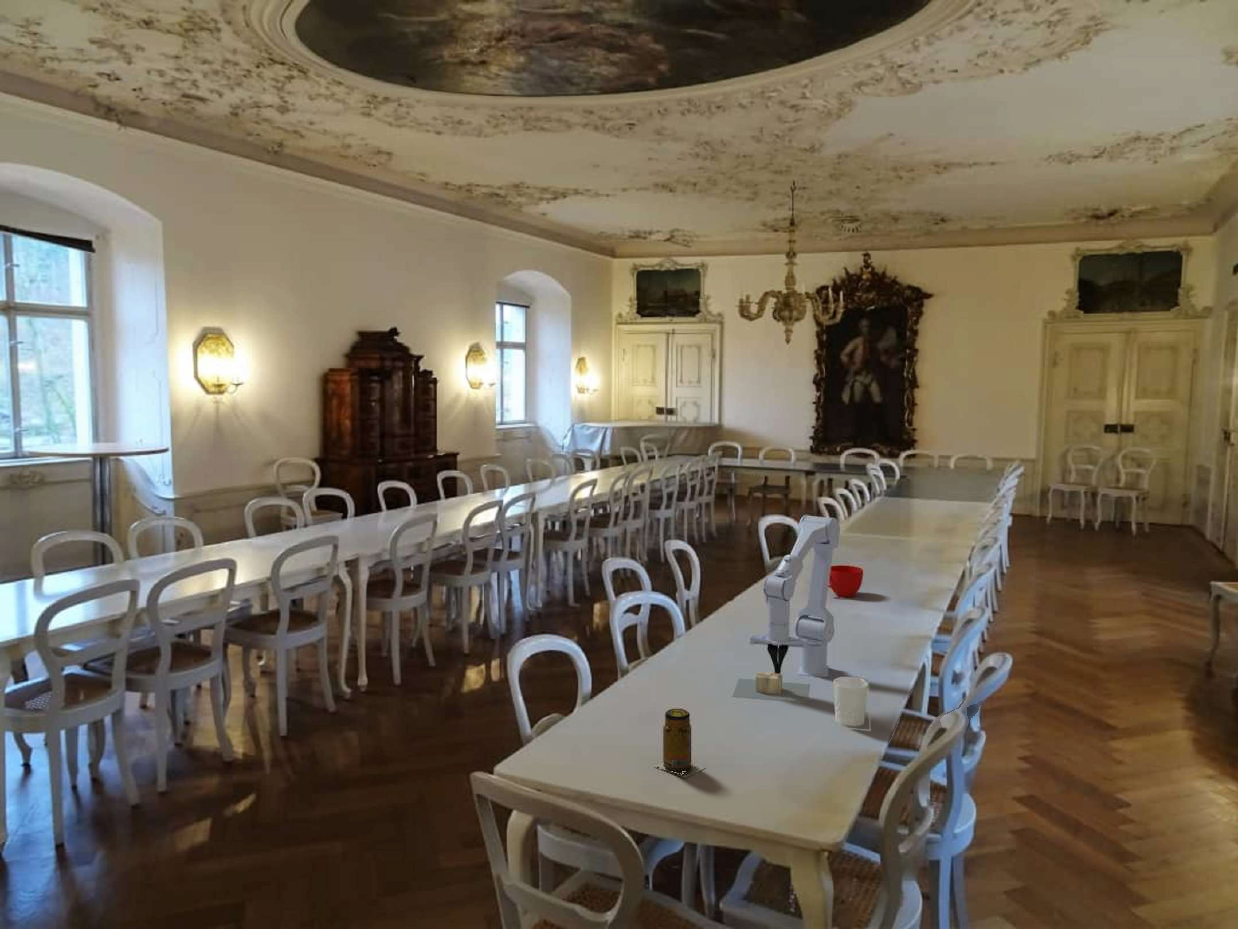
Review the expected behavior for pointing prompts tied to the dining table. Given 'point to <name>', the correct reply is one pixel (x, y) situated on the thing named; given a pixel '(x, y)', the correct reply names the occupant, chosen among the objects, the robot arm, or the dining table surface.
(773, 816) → the dining table surface
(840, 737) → the dining table surface
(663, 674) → the dining table surface
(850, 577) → the ceramic cup
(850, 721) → the white cup
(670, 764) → the condiment
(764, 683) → the maple block
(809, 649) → the robot arm
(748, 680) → the rubber mat
